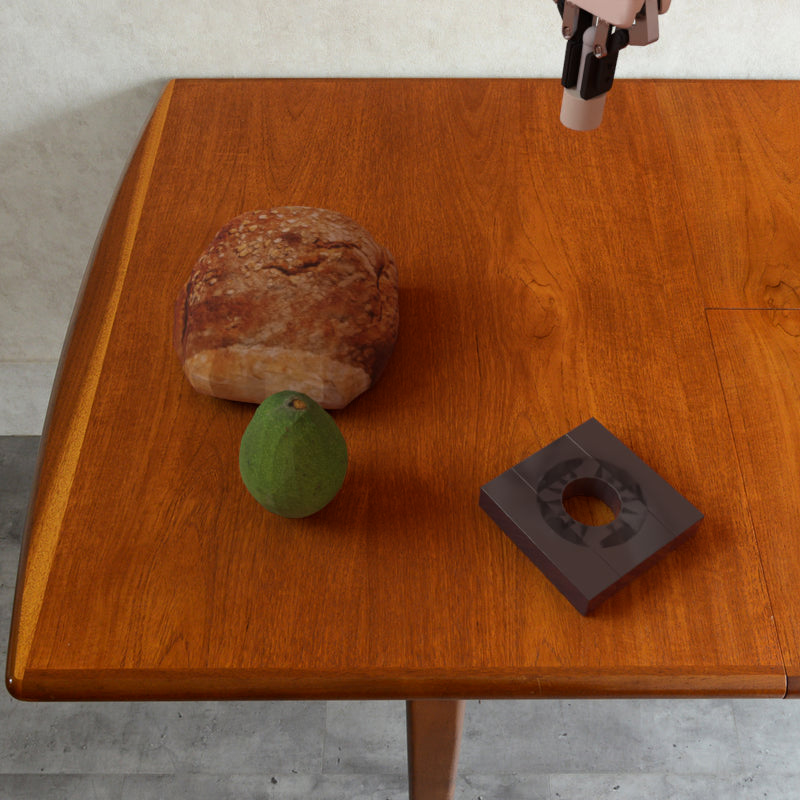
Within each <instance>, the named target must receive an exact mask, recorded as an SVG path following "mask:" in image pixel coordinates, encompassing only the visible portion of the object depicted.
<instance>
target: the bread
mask: <svg viewBox="0 0 800 800" xmlns="http://www.w3.org/2000/svg"><path fill="white" fill-rule="evenodd" d="M192 267H193V268H192V270H191V273H190V275H189V277H188V279H187V281H186V282H185V283H184V284H183V285H182V286H181V288H180V290H179V293H178V294H177V297H176V299H175V303H174V310H173V313H174V314H173V332H172V333H173V334H172V346H173V349H174V350H175V352H176V354H177V358H178V359H179V361H180V364H181V367H182V370H183V373H184V376H185V378H186V381H187V382H188V383H189V385H191V387H192V388H193V389H194V390H195V391H196V392H197V393H198V394H201V395H204V396H209V397H212V398H213V397H214V398H217V399H223V400H228V401H235V402H240V403H241V402H242V403H250V404H256V405H261V404H262V402H263V401H264V400H265V399H266V398H268V397H269V396H271V395H273V394H275V393H278V392H281V391H284V390H292V391H297V392H301V393H305V394H306V395H307V396H309V397H310V398H312V399H313V400H314V401H315V402H317V403H318V404H319V405H320V406H322V408H323V409H324V410H343V409H344V408H346V406H348V405H349V404H350V403H351V402H352V401H353V400H355V399H356V398H357V397H358V396H361V394H363V393H364V392H366V391H367V390H370V388H372V387H374V386H375V385H376V383H377V382H378V380H379V379H380V377H381V376H382V374H383V372H384V371H385V369H386V367H387V365H388V363H389V361H390V359H391V356H392V354H393V352H394V349H395V347H396V345H397V342H398V336H399V329H400V310H399V309H400V308H399V268H398V264H397V260H396V258H395V256H394V255H393V254H392V252H391V251H390V249H388V247H386V246H385V245H383V244H381V243H378V242H376V240H375V238H374V237H373V235H372V234H371V233H370V231H368V230H367V229H366V228H365V227H364V226H363V225H361V224H359V223H358V222H357V221H356V220H354V219H352V218H351V217H348V216H347V215H346V214H343V213H342V212H339V211H334V210H331V209H326V208H322V207H321V208H320V207H314V206H302V205H301V206H300V205H299V206H298V205H289V206H276V207H271V208H266V209H257V210H250V211H247V212H243V213H241V214H239V215H236V216H235V217H234V218H232V219H230V220H229V221H228V222H226V223H225V224H223V225H222V227H221V228H220V229H219V230H218V232H217V233H216V234H215V235H214V237H213V238H212V240H211V241H210V243H208V245H207V247H206V248H205V249H204V250H203V251H202V253H201V254H200V256H199V257H198V259H197V260H196V262H195V263H194V264H193V266H192Z"/></svg>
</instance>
